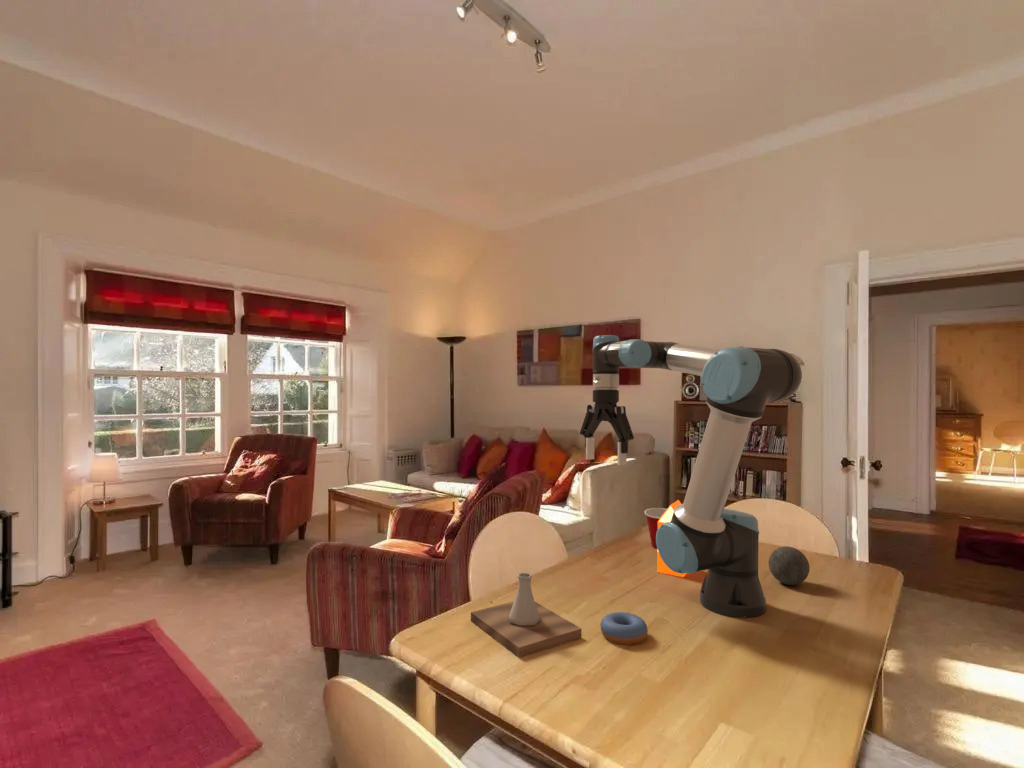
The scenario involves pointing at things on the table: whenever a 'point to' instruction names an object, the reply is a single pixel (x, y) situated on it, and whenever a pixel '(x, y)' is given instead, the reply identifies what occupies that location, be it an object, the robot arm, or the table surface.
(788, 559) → the decorative ball
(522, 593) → the flask
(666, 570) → the orange juice
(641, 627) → the doughnut
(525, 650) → the walnut board
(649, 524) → the plastic cup
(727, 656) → the table surface
